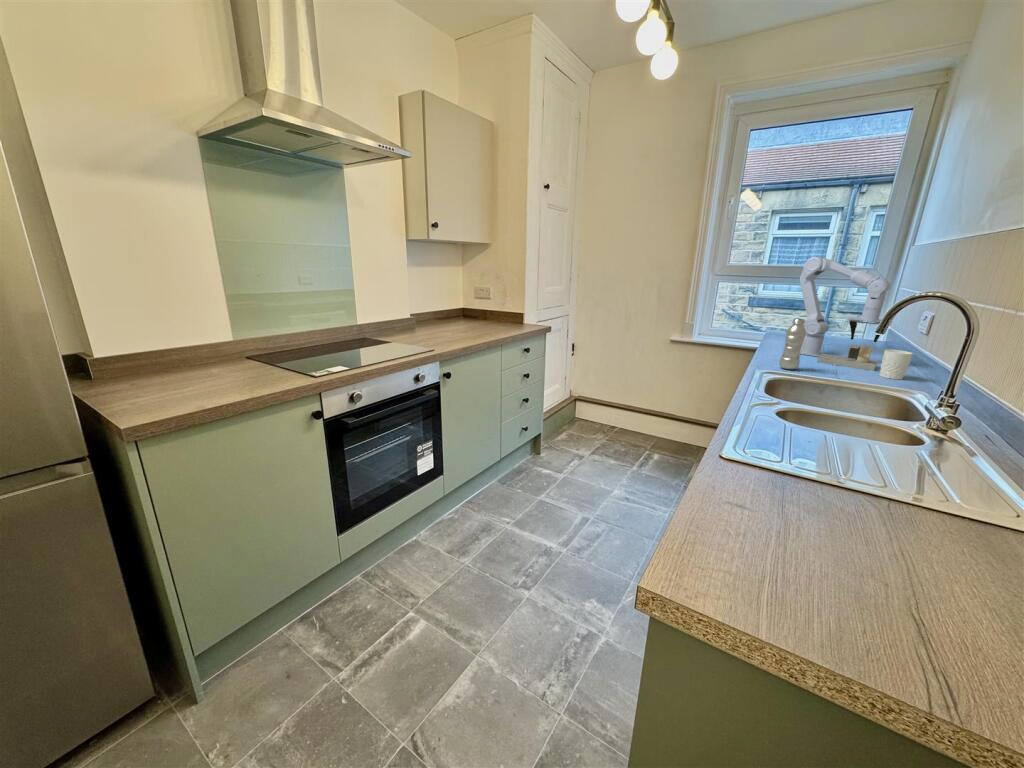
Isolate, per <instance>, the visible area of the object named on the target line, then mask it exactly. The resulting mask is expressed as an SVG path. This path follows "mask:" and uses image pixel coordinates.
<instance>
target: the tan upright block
mask: <svg viewBox="0 0 1024 768" xmlns="http://www.w3.org/2000/svg"><path fill="white" fill-rule="evenodd" d="M872 351H873V346H864V345H862V346H860V347H859V348H858V352H857V355H856V359H855V360H857V361H859V362H866V363H868V362H869V361H870V358H871V354H872Z"/></svg>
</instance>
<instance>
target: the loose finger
mask: <svg viewBox="0 0 1024 768" xmlns="http://www.w3.org/2000/svg"><path fill="white" fill-rule="evenodd" d="M859 347H861V346H858V345H852V344H851V345H850V346H849V348H848V352H847V356H846V357H849V358H856V355H857V352H858V348H859Z"/></svg>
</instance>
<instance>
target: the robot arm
mask: <svg viewBox="0 0 1024 768" xmlns="http://www.w3.org/2000/svg"><path fill="white" fill-rule="evenodd" d="M802 267H803V269H802V271H801V274H800V276H799V283H800V289H801V293H802V294H801V295H802V297H803V303H804V308H805V313H806V318H805V322H804V323H805V326H804V328H805V330H806V336H805V338H804V340H803V343H802V346H801V350H800V355H804V354H805V356H813V357H817V358H818V356H821V354H823V353H821V350H822V346H823V343H824V338H825V333H826V332H828V330H829V324H828V323H827V321H826V320H825V317H824V315H823V314H822V311H821V306H820V302H819V296H818V293H817V288H816V282H815V280H816V279H817V277H818V276H819V275H821V274H822V273H824V272H825V271H832V272H834V273H837V274H840V275H842V276H845V277H847V278H849V279H850V282H851V283H852V284H854V285H856V286H859V287H861V288H863V289H865V290H867V291H868V293H867V297H866V300H865V303H864V306H863V309H862V314H861V316H860V317H854V316H853V317H852V316H848V317H847V319H846V323H849V326H850V340H854V338H855V334H856V333H855V332H856V330H857V327H858V323H859V324H869V325H878V324H879V323H880V321H881V320H882V319H880V316H881V312H882V308H883V305H884V304H885V303H884V302H885V299H886V295H887V292H888V291H889V290H890V288H891V284H892V283H891V282H890V281H889V280H887V278H881V276H880V275H875V274H873V273H870V272H869V270H867V269H864V270H863V269H859V270H854V269H852V268H851V267H848V266H846V265H844V264H842V263H840V262H838V261H835V260H832V259H829V258H827V257H817V256H813V257H810V258H808V259H807V261H805V262H804V264H803V265H802ZM891 321H892V320H891ZM893 323H894V322H893V321H892V322H891V323H890V325H889V326H890V327H892V324H893ZM889 326H888V327H889ZM880 337H881V335H876V334H875V337H874V339H873V342H874V343H877V341H878V340H879V338H880Z"/></svg>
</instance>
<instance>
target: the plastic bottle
mask: <svg viewBox="0 0 1024 768" xmlns="http://www.w3.org/2000/svg"><path fill="white" fill-rule="evenodd" d="M805 321H806V318H796V317H795V318H793V320H792V325H790V326H789V328H787V330H786V331H785V342H784V349H783V351H782V356H781V357H780V359H779V362H778V363H779V367H780V368H782V369H784V370H796V369H798V368H799V366H800V355H801V354H800V350H801V346H802V343H803V340H804V338H805V336H806V330H805V326H804V325H805V323H806V322H805Z"/></svg>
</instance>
